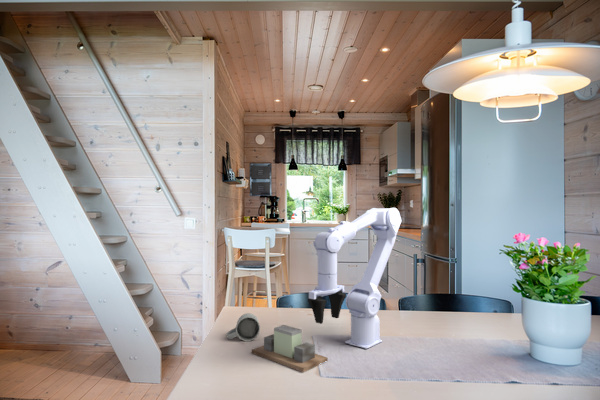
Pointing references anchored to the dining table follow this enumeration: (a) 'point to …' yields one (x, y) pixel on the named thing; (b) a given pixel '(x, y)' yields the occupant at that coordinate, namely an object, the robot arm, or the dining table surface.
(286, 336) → the bracket block
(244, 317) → the ceramic mug
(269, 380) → the dining table surface
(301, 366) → the post base
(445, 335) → the dining table surface
